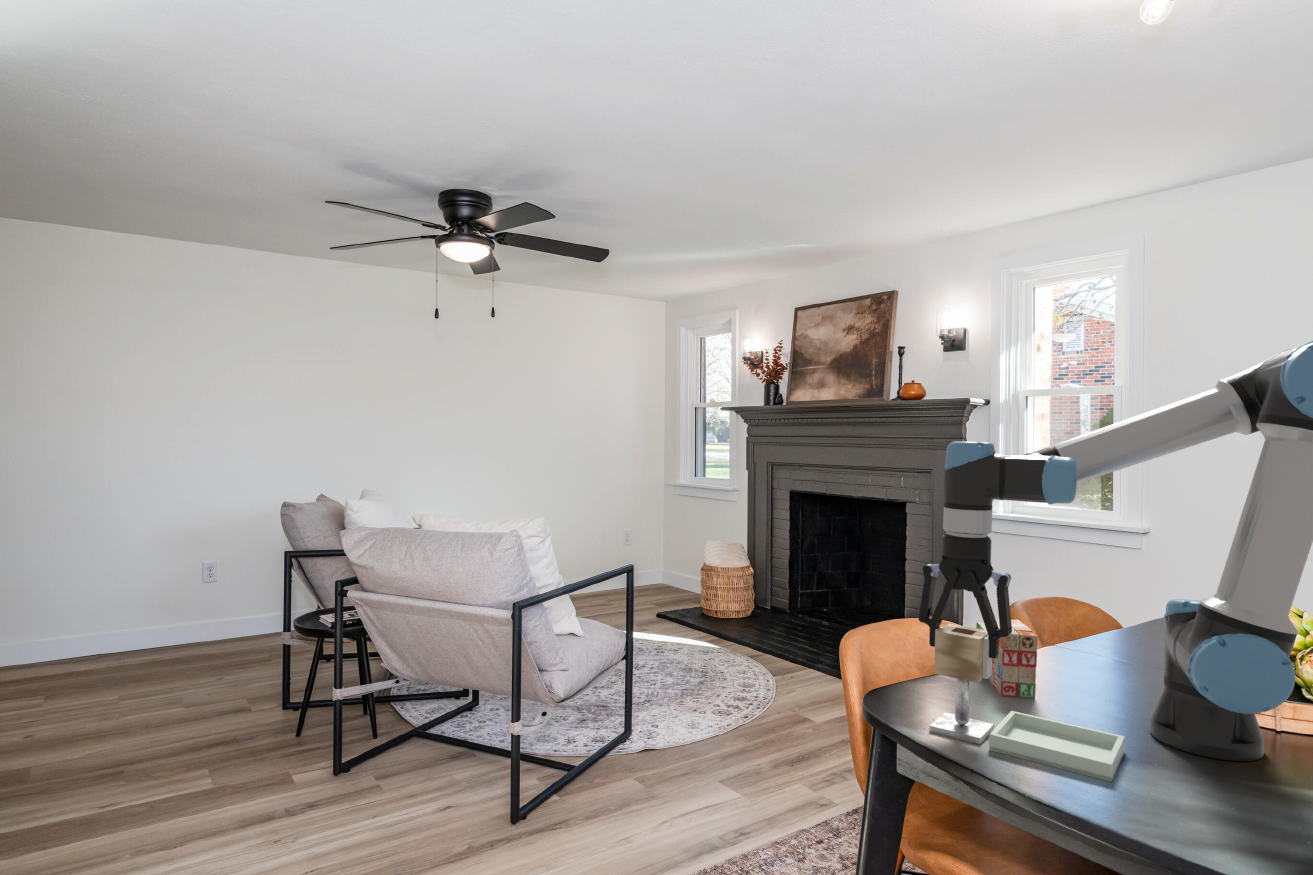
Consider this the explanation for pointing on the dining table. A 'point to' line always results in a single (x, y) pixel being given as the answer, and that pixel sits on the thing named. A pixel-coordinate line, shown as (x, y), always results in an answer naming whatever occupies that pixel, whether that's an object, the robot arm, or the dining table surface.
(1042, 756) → the tray
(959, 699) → the post
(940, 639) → the oak block
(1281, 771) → the dining table surface
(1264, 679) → the robot arm
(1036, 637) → the stack of blocks
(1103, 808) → the dining table surface
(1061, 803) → the dining table surface
